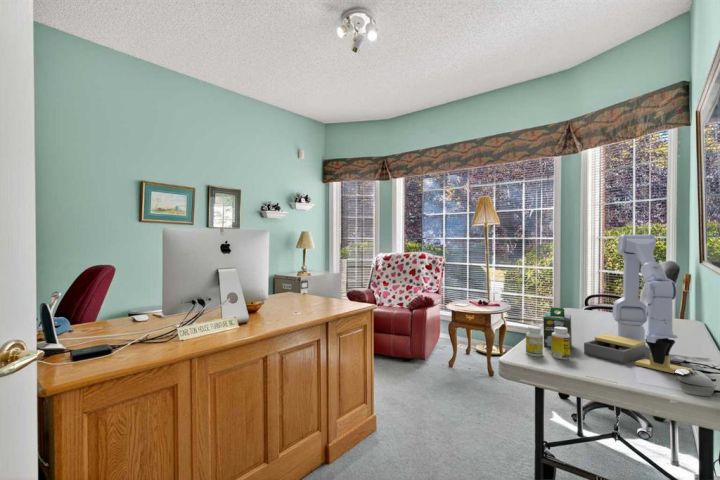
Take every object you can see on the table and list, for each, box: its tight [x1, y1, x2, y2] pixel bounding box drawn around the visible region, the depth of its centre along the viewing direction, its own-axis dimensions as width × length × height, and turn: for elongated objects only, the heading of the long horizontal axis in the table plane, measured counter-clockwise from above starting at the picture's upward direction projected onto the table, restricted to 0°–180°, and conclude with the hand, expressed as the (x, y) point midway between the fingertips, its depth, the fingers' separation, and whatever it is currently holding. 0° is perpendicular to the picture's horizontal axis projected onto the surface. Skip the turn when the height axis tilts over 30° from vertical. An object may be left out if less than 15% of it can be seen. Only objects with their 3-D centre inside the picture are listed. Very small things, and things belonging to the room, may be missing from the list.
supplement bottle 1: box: [525, 325, 544, 358], centre depth 122 cm, size 5×5×10 cm
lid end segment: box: [634, 352, 693, 374], centre depth 109 cm, size 7×12×4 cm, turn 31°
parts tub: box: [583, 333, 646, 365], centre depth 123 cm, size 17×12×5 cm
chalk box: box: [542, 306, 573, 351], centre depth 134 cm, size 9×9×15 cm
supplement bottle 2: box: [551, 327, 571, 360], centre depth 119 cm, size 6×6×10 cm
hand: (660, 362), depth 108 cm, fingers closed on lid end segment, 2 cm apart
